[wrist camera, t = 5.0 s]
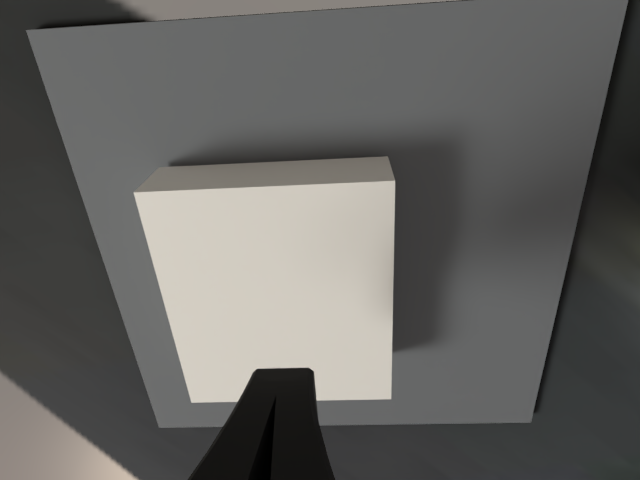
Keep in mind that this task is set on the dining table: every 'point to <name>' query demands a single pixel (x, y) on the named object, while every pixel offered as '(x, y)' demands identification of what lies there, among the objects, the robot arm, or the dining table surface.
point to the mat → (357, 142)
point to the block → (276, 272)
